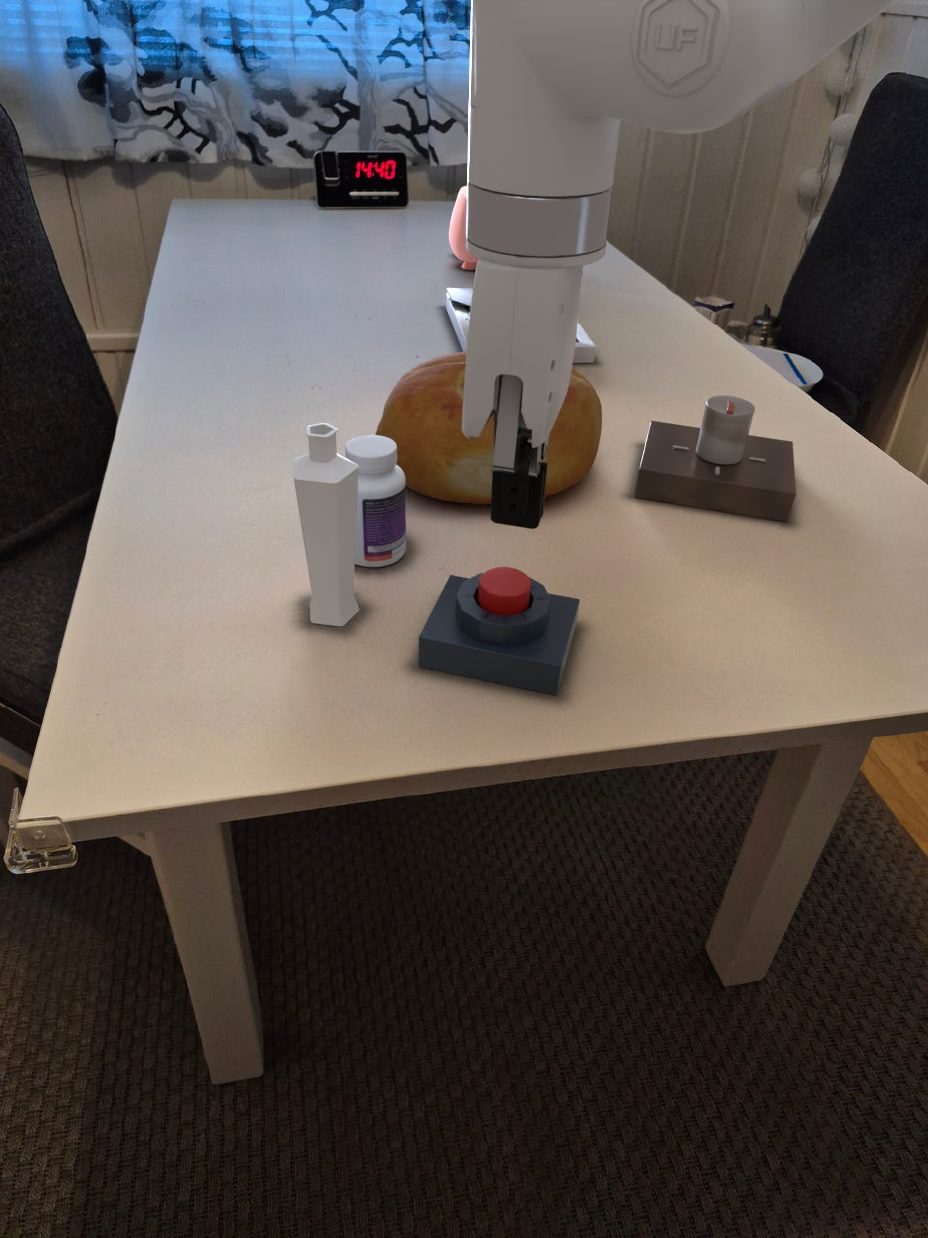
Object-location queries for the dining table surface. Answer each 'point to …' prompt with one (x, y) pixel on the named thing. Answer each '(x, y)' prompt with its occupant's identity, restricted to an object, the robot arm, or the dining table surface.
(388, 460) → the pill bottle
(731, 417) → the knob
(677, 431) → the dial panel
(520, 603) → the button
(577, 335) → the picture frame
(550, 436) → the bread
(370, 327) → the dining table surface
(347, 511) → the perfume bottle
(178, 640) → the dining table surface
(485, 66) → the robot arm
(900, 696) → the dining table surface
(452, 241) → the teapot
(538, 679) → the button box
